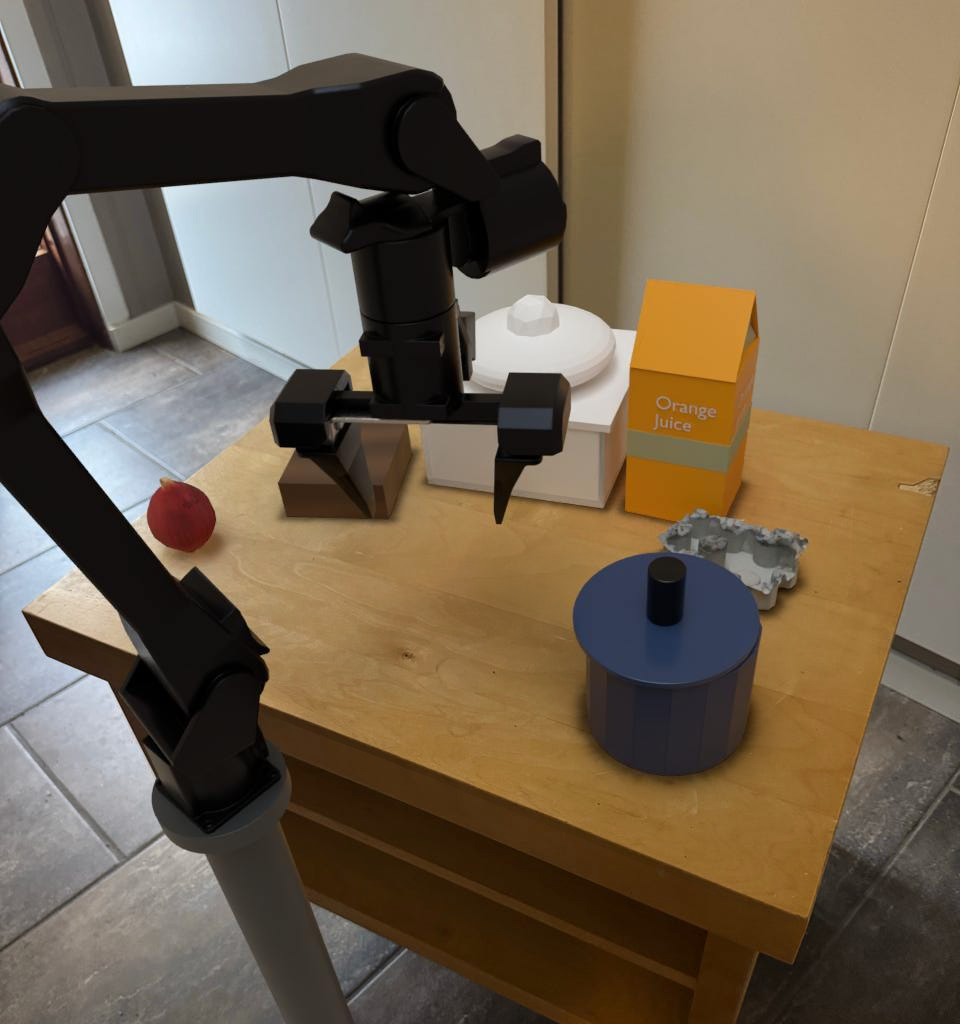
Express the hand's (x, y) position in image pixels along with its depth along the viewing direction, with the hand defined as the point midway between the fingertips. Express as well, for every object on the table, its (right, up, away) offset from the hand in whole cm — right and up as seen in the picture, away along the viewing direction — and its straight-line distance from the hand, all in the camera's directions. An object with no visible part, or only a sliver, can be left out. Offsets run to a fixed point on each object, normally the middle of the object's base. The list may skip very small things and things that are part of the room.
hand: (435, 518), depth 67 cm
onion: (-23, 0, +21) cm, 31 cm away
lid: (+15, -7, -4) cm, 17 cm away
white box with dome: (+9, +11, +29) cm, 32 cm away
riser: (-9, +7, +27) cm, 29 cm away
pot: (+17, -14, +2) cm, 22 cm away
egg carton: (+24, -3, +13) cm, 27 cm away
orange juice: (+22, +4, +21) cm, 31 cm away
